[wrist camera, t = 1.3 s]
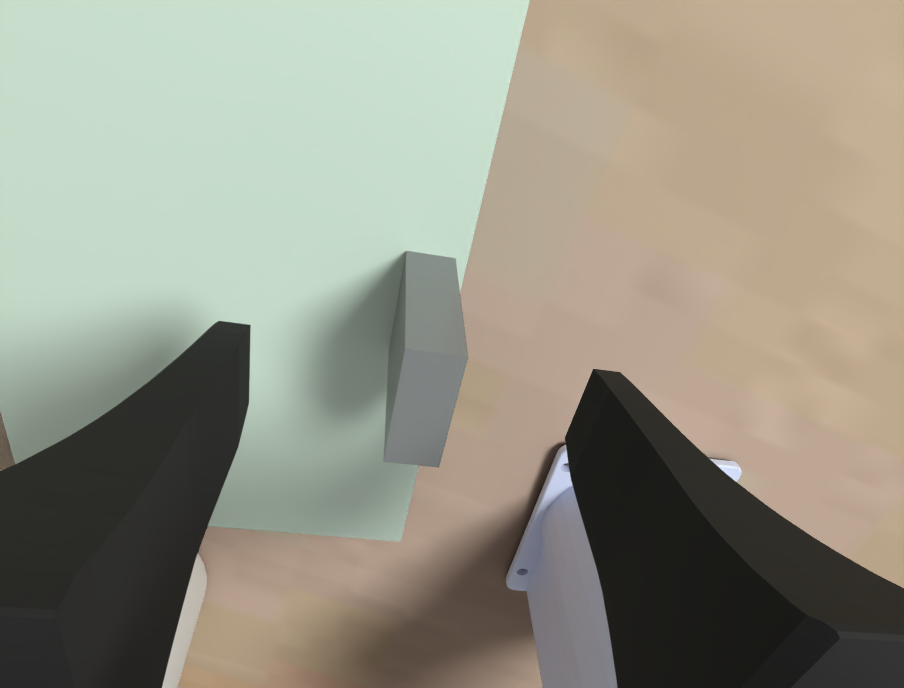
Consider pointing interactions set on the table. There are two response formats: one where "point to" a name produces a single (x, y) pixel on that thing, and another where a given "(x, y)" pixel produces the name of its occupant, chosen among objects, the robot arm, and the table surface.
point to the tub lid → (251, 227)
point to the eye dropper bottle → (186, 624)
